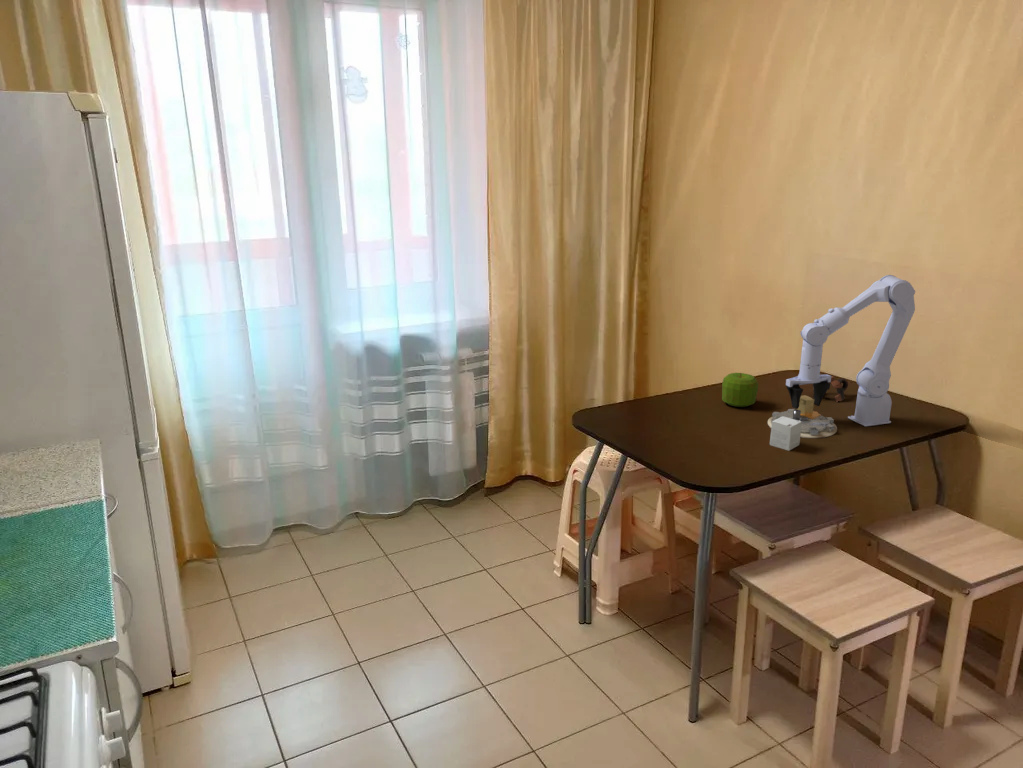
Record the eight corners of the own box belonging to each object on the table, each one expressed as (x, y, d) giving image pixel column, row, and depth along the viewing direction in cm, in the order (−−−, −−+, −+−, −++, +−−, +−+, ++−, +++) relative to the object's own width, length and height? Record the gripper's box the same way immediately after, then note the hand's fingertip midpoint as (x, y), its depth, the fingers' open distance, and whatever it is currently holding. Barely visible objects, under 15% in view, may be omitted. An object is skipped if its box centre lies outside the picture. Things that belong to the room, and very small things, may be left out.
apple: (723, 409, 239) (725, 377, 236) (718, 398, 250) (720, 367, 246) (759, 410, 238) (762, 378, 235) (752, 399, 248) (755, 368, 245)
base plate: (808, 411, 236) (808, 410, 236) (851, 433, 218) (852, 432, 218) (754, 418, 231) (754, 417, 231) (794, 441, 213) (794, 440, 213)
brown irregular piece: (832, 406, 242) (821, 383, 243) (814, 409, 251) (803, 387, 252) (859, 392, 246) (849, 369, 246) (840, 396, 255) (830, 374, 255)
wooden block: (795, 411, 230) (797, 396, 228) (804, 410, 231) (805, 395, 229) (804, 415, 226) (805, 400, 225) (812, 414, 227) (814, 399, 225)
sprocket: (786, 409, 237) (787, 392, 235) (843, 422, 225) (846, 405, 223) (760, 424, 224) (761, 407, 222) (819, 439, 212) (821, 421, 211)
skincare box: (779, 439, 215) (782, 415, 213) (799, 445, 211) (802, 420, 208) (768, 445, 211) (771, 420, 209) (789, 451, 207) (791, 426, 205)
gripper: (822, 357, 229) (817, 399, 233) (781, 362, 225) (777, 404, 229) (838, 363, 222) (832, 406, 226) (796, 368, 218) (791, 412, 222)
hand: (805, 406), depth 227 cm, fingers open, 7 cm apart
